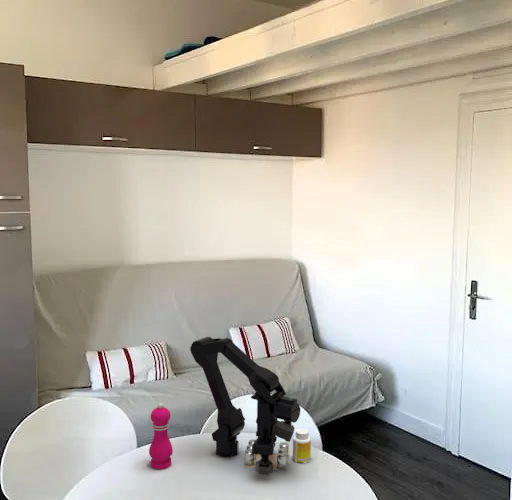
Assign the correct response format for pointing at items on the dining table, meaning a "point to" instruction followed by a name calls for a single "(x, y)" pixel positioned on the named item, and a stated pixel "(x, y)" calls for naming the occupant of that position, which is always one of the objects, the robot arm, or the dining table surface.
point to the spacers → (281, 456)
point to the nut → (264, 466)
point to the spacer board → (271, 457)
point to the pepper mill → (160, 438)
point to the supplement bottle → (301, 446)
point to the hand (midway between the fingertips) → (265, 462)
